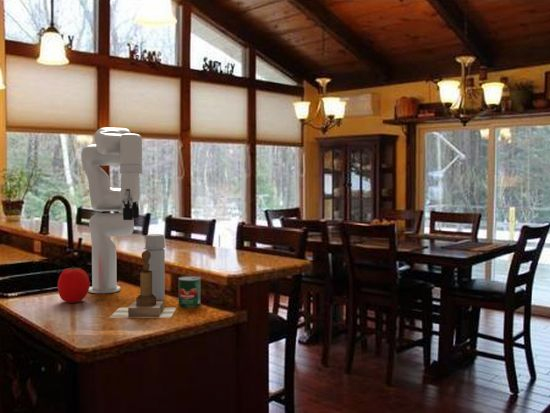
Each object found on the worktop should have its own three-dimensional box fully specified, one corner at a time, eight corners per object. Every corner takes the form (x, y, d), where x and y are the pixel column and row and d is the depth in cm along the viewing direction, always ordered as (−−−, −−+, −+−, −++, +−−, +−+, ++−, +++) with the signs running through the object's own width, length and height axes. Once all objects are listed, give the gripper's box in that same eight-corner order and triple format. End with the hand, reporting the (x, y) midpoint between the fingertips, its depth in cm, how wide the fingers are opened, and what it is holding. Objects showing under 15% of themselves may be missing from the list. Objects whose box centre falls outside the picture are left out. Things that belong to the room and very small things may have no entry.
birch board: (119, 310, 197) (119, 307, 197) (176, 310, 198) (176, 307, 198) (109, 321, 183) (109, 317, 183) (170, 321, 184) (170, 317, 184)
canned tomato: (180, 311, 197) (180, 280, 196) (176, 306, 204) (176, 276, 204) (203, 309, 200) (203, 279, 199) (197, 304, 207) (197, 275, 207)
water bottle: (169, 300, 214) (169, 235, 212) (152, 304, 208) (152, 236, 206) (154, 296, 220) (154, 233, 218) (137, 300, 214) (137, 234, 212)
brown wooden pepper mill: (146, 307, 185) (146, 253, 184) (132, 304, 188) (131, 251, 187) (160, 303, 191) (160, 250, 190) (145, 301, 194) (145, 249, 193)
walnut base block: (134, 309, 195) (134, 300, 194) (163, 309, 195) (163, 301, 195) (128, 316, 185) (128, 307, 184) (158, 317, 185) (158, 307, 185)
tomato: (49, 303, 207) (48, 267, 206) (74, 297, 218) (74, 263, 217) (72, 307, 202) (72, 270, 201) (97, 300, 213) (97, 265, 212)
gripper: (125, 169, 204) (126, 216, 205) (113, 169, 187) (114, 220, 188) (146, 169, 204) (146, 216, 205) (136, 169, 187) (136, 221, 188)
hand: (131, 218), depth 197 cm, fingers open, 9 cm apart
